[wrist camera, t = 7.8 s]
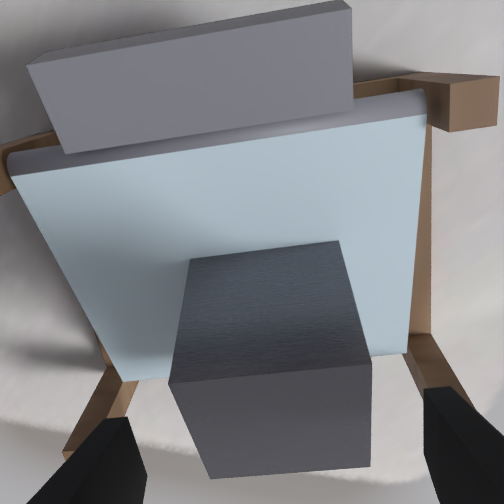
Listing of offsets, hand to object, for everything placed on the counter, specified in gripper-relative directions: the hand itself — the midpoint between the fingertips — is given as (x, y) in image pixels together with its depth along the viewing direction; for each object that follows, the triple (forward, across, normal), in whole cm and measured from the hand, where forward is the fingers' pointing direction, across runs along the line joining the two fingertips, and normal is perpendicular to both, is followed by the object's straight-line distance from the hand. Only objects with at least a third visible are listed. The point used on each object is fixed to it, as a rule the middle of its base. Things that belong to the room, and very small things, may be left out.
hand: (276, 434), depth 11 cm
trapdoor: (+6, +1, -3) cm, 7 cm away
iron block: (+6, 0, 0) cm, 6 cm away
